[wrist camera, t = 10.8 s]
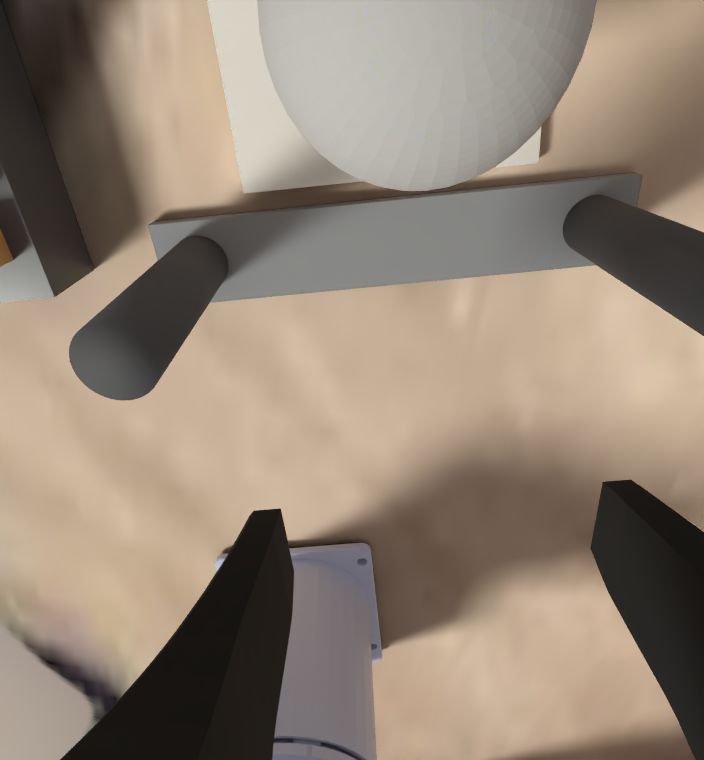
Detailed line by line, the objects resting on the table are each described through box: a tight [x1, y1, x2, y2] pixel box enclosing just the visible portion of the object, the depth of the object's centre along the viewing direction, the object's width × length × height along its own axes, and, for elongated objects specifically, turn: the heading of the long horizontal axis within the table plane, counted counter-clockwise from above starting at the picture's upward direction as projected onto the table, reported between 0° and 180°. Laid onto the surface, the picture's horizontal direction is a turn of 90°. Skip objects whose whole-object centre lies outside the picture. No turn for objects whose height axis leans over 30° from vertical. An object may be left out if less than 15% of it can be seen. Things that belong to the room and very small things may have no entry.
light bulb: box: [257, 0, 597, 191], centre depth 11 cm, size 6×6×10 cm
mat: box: [207, 0, 541, 194], centre depth 16 cm, size 8×10×1 cm
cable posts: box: [69, 173, 704, 400], centre depth 15 cm, size 3×17×8 cm, turn 95°
